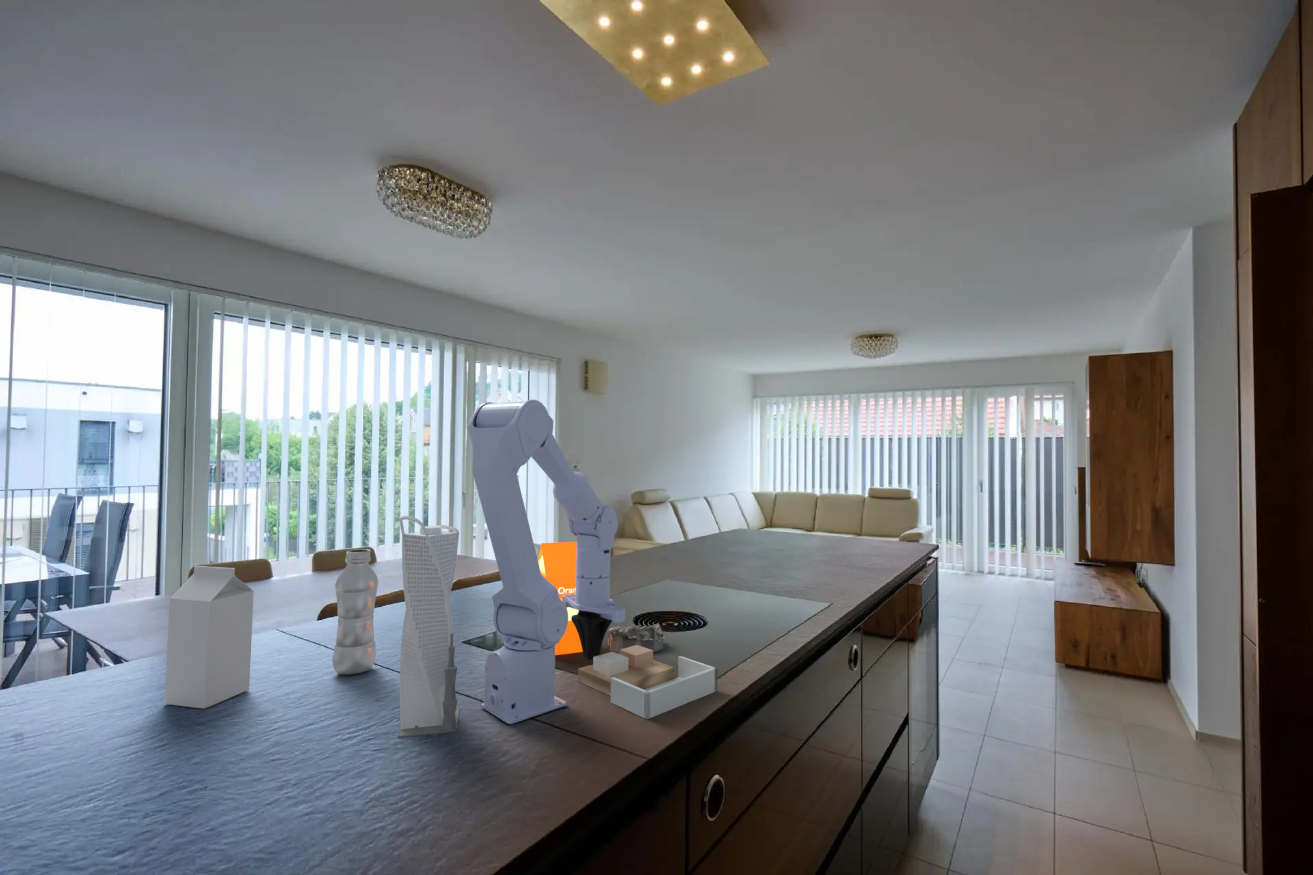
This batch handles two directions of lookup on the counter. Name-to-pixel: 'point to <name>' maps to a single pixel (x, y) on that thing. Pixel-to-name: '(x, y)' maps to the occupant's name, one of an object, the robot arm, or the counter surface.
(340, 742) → the counter surface
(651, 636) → the egg carton
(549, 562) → the orange juice
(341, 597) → the plastic bottle
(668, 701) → the tray
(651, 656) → the terracotta tile
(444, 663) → the skyscraper
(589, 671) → the flat wooden plank
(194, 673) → the milk carton
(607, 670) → the cream tile
